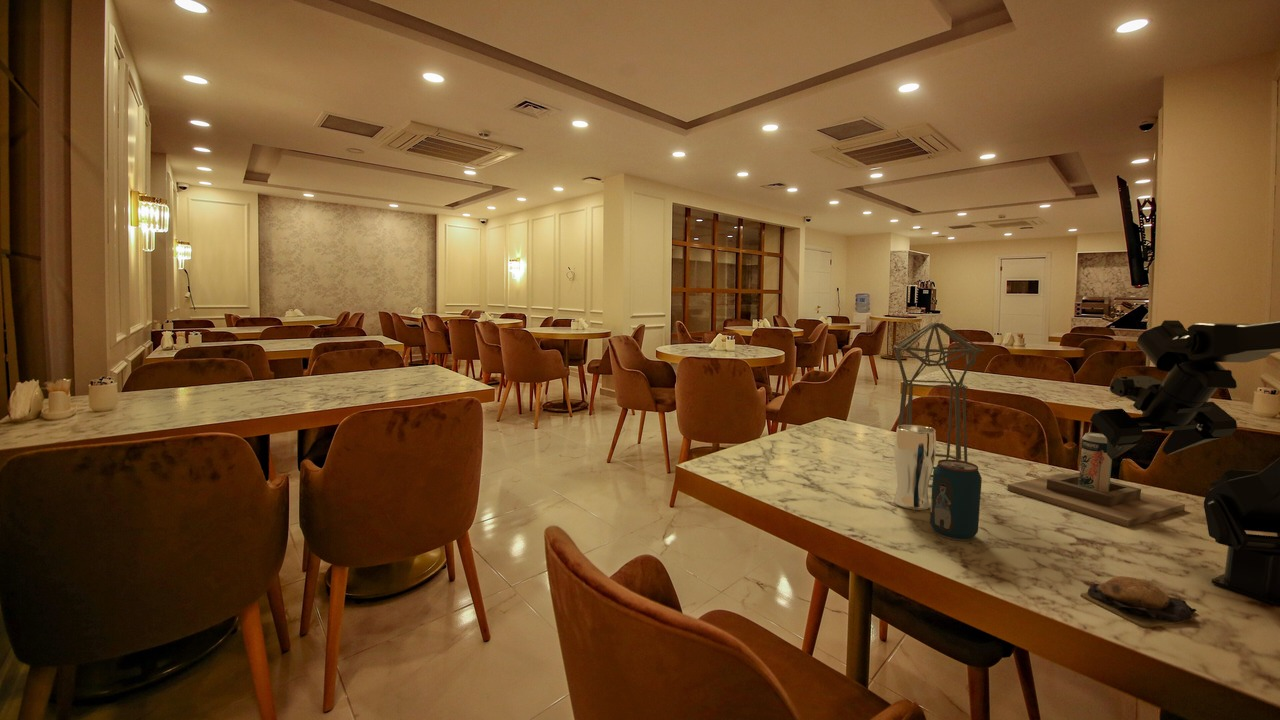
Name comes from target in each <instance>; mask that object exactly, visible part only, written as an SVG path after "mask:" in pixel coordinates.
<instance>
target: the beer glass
mask: <svg viewBox="0 0 1280 720" xmlns="http://www.w3.org/2000/svg"><path fill="white" fill-rule="evenodd" d="M936 432H937V431H936V429H935V428H933V427H929V426H926V425H917V424H912V425H909V424H908V425H906V424H903V425H899V426H898V425H897V426H896V432H895V438H894V439H895V440H894V449H893V450H894V451H893V452H894V465H895V473H896V478H897V480H896V485H897V486H896V491H895V494H894V497H893V498H894V499H893V502H894V504H895V505H897V506H899V507H901V508H904V509H907V510H912V511H924V510H925V511H926V510H929V509H930V500H929V499H930V498H929V487H928V486H929V485H930V481H931V478H932V477H931V475H933V470H934V469H933V467H935V460H936V456H935V454H937V453H936V452H937V451H936V450H937V449H936V447H937V444H936V443H937V438H936V437H937V435H936Z"/></svg>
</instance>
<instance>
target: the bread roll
mask: <svg viewBox="0 0 1280 720" xmlns="http://www.w3.org/2000/svg"><path fill="white" fill-rule="evenodd" d="M1079 597H1080V598H1082V599H1084V600H1086V601H1088V602H1091V603H1092V604H1094V605H1096V606H1098V607H1100V608H1102V609H1104V610H1106V611H1109V612H1110V613H1112V614H1114V615H1116V616H1118V617H1120V618H1122V619H1125V620H1126V621H1128V622H1130V623H1132V624H1134V625H1136V626H1139V627H1140V628H1147V629H1148V628H1157V627H1163V626H1170V625H1175V624H1180V623H1182V622H1186V621H1190V620H1192V619H1195V618H1197V617H1198V613H1197V608H1192V607H1191V606H1189V605H1188V604H1187V601H1186V600H1183V599H1181V598H1176V597H1171V596H1169V595H1168V594H1166V593H1165V592H1164V591H1162V590H1161V589H1160V588H1159V587H1157V586H1155V585H1154V584H1152V583H1150V582H1148V581H1145V580H1144V579H1140V578H1138V577H1137V578H1136V577H1133V576H1132V577H1131V576H1116V577H1112V578H1111V579H1108V580H1107V581H1105V582H1103V583H1092V584H1091V585H1090V587H1088V590H1087V592H1081V593H1080V596H1079Z"/></svg>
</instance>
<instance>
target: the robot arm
mask: <svg viewBox="0 0 1280 720" xmlns="http://www.w3.org/2000/svg"><path fill="white" fill-rule="evenodd" d="M1136 345H1137V346H1138V348H1139V349H1140V350H1141V351H1142V352H1143V354H1144V355H1145V356H1146V357H1147V358H1148V359H1149V360H1150V361H1151V363H1152V364H1153V365H1154V366H1155V368H1157V369H1158V370H1159V371H1163V372H1168V373H1167V375H1166V376H1165V378H1164V379H1163V380H1160V379H1157V378H1154V377H1152V376H1149V375H1135V376H1134V375H1133V376H1131V375H1130V376H1123V375H1122V376H1116V377H1115V378H1114V379H1113V380H1112V381H1111V383H1110V387H1109V391H1110V393H1111V394H1113V395H1115V396H1118V397H1119V398H1126V399H1128V400H1130V401H1133V402H1134V403H1133V405H1132V406H1133V407H1134V408H1135V410H1136V411H1141V416H1136V417H1134V416H1133V417H1132V416H1131V415H1130V414H1129V413H1127V411H1126V410H1125V409H1123V408H1105V409H1095V410H1094V412H1093V414H1092V416H1091V417H1090V419H1089V421H1090V422H1091V423H1092V424H1093V425H1094V426H1095V427H1096V429H1098V430H1099V432H1100V433H1101V434H1103V435H1104V436H1105V437H1106V438H1107V455H1108V456H1109V457H1110V458H1111V459H1112V460H1114V459H1115V458H1117V457H1119V456H1121V455H1122V454H1124V453H1126V452H1127V451H1129V450H1130V449H1132V448H1134V447H1135V446H1136V445H1138V442H1137V441H1140V440H1141V438H1142V437H1143V436H1144V432H1151V431H1162V432H1171V434H1170V435H1169V437H1168V439H1167V440H1166V441H1165V443H1164V446H1163V447H1162V449H1161V450H1162V453H1164V454H1165V455H1166V456H1169V455H1172V454H1176V453H1179V452H1181V451H1184V450H1187V449H1189V448H1192V447H1193V448H1194V447H1195V446H1199V445H1201V444H1204V443H1207V442H1208V443H1209V442H1211V441H1214V440H1219V439H1221V438H1222V437H1231V436H1232V435H1233V434H1234V433H1235V432H1236V431H1237V429H1238V423H1237V420H1236V419H1235V418H1234V417H1233V416H1231V415H1230V414H1229V413H1228V412H1226V411H1225V410H1224V409H1223V408H1221V406H1219V405H1218V404H1217V403H1216V402H1214V401H1209V400H1210V399H1211V397H1212V396H1213V395H1214V393H1215V392H1216V391H1217V389H1229V390H1230V389H1231V390H1234V389H1237V387H1238V385H1237V380H1236V379H1235V378H1234V376H1233V371H1232V370H1230V369H1226V368H1225V367H1223V365H1222V364H1221V363H1249V362H1250V363H1251V362H1254V361H1259V360H1262V359H1266V358H1268V357H1269V356H1270V355H1271V354H1275V353H1279V352H1280V320H1279V321H1278V320H1277V321H1271V322H1264V323H1233V322H1232V323H1225V322H1224V323H1222V322H1221V323H1217V322H1196V323H1193V324H1191V325H1189V326H1188V327H1187V328H1185V326H1184V324H1182V322H1180V320H1177V319H1176V320H1171V319H1170V320H1169V319H1168V320H1167V319H1165V320H1163V321H1162V323H1161V324H1160V325H1157V326H1155V327H1151V328H1149V329H1147V330H1146V331H1144V332H1143V333H1141V334H1140V335H1139V336H1138V338H1137V340H1136ZM1209 486H1210V487H1212V488H1210V489H1209V490H1208V491H1207V493H1206V494H1205V497H1204V501H1203V507H1204V508H1203V509H1204V515H1205V520H1206V527H1207V531H1208V536H1209V537H1210V538H1213V539H1214V542H1215V543H1217V544H1220V545H1223V546H1226V547H1227V552H1226V553H1227V554H1226V562H1225V567H1224V568H1225V569H1224V574H1220V575H1217V576H1216V577H1214V578H1211V583H1212V584H1213V585H1217V586H1220V587H1222V588H1224V589H1228V590H1231V591H1234V592H1236V593H1240V594H1242V595H1246V596H1249V597H1251V598H1254V599H1257V600H1260V601H1263V602H1266V603H1269V604H1271V605H1274V606H1277V607H1280V457H1278V458H1277V459H1276V460H1275V461H1274V462H1272V463H1270V464H1269V465H1268V466H1267V467H1266V468H1264V469H1263V470H1248V469H1247V470H1246V469H1229V470H1228V471H1226V472H1224V473H1223V474H1222V476H1221V477H1220V478H1219V479H1218V480H1216V481H1215V482H1210V483H1209ZM1246 531H1247V532H1258V533H1268V534H1276V536H1274V535H1265V534H1251V533H1247V532H1246Z"/></svg>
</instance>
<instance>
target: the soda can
mask: <svg viewBox="0 0 1280 720" xmlns="http://www.w3.org/2000/svg"><path fill="white" fill-rule="evenodd" d="M961 460H962V459H961ZM961 460H955V459H952V458H950V459H949V458H948V459H946V458H943V459H939V460H938V461H937V464H936V466H935V467H936V468H935V469H933V470H932V475H933V478H932V484H931V485H932V487H931V500H930V513H929V524H930V526H931V527H932V529H933V532H934V533H935V534H937V535H939V536H940V537H943V538H946V539H949V540H953V541H959V542H966V541H970V540H971V541H972V539H974V537H975V536H977V533H978V532H979V523H980V507H981V496H982V495H981V494H982V493H981V492H982V481H983V477H982V475H981V473H980V472H979V466H978V465H977V464H975V463H972V462H969V461H967V462H966V461H964V460H962V461H961Z"/></svg>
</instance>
